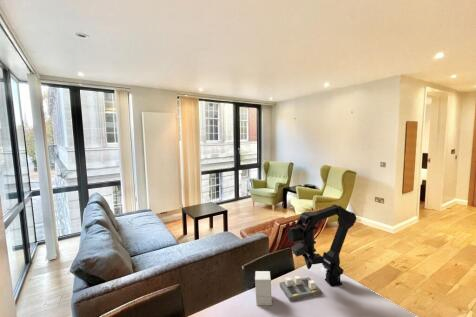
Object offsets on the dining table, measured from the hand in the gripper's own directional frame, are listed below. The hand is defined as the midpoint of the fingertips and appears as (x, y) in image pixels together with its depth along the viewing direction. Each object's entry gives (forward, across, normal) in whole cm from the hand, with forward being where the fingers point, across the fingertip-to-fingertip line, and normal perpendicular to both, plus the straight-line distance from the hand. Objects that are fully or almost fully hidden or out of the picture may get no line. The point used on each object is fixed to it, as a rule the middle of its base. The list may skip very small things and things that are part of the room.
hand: (308, 268), depth 116 cm
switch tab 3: (+9, +2, 0) cm, 9 cm away
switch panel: (+11, -1, -5) cm, 12 cm away
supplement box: (+11, +1, -25) cm, 27 cm away
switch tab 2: (+9, -3, -5) cm, 10 cm away
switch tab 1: (+9, -3, -10) cm, 14 cm away
